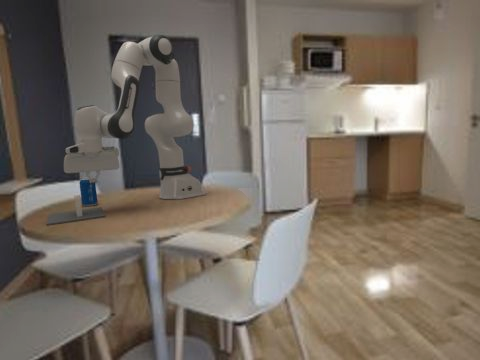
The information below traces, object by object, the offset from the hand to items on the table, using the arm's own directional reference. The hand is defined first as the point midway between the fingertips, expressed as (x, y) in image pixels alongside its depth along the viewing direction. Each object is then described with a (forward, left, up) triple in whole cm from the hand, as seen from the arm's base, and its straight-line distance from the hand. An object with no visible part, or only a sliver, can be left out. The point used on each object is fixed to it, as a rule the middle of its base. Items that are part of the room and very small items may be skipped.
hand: (93, 182), depth 143 cm
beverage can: (+2, -20, -13) cm, 24 cm away
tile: (+6, 0, -12) cm, 13 cm away
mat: (+8, 0, -12) cm, 15 cm away
